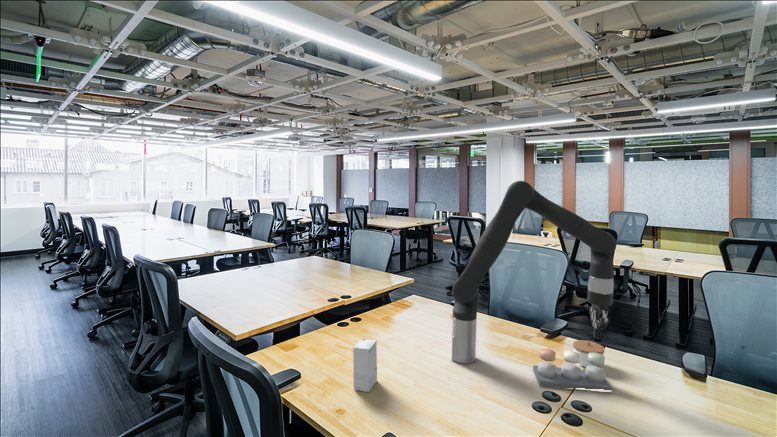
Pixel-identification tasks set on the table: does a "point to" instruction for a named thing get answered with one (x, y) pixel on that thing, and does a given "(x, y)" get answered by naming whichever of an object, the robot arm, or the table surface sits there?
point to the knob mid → (571, 357)
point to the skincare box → (365, 365)
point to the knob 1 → (547, 355)
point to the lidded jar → (587, 350)
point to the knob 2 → (596, 359)
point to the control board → (569, 382)
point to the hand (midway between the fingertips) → (597, 338)
